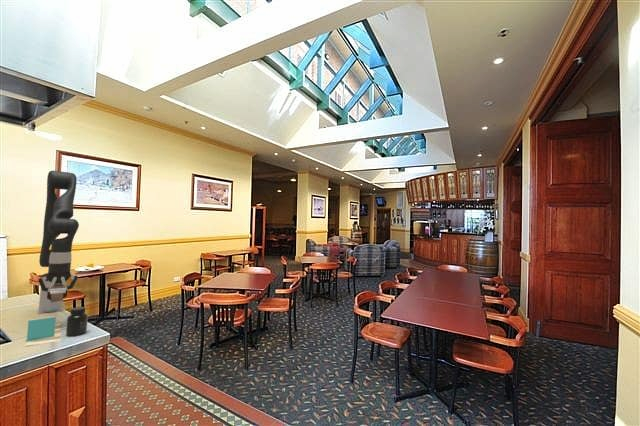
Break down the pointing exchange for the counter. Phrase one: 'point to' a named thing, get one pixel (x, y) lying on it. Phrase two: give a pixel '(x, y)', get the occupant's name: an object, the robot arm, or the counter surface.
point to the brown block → (57, 292)
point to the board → (47, 340)
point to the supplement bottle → (76, 322)
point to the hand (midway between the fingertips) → (56, 298)
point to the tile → (41, 328)
